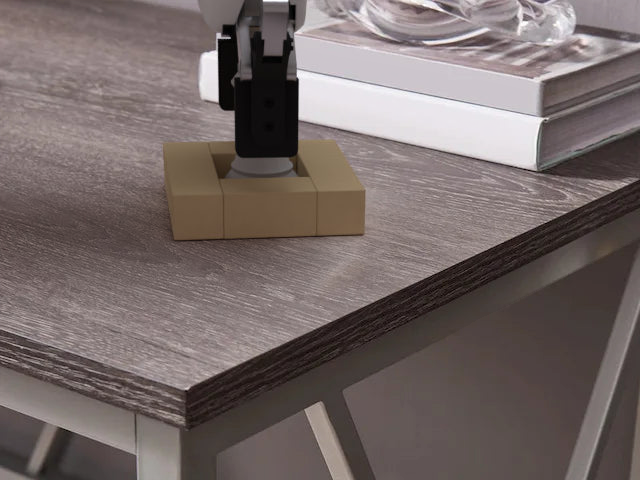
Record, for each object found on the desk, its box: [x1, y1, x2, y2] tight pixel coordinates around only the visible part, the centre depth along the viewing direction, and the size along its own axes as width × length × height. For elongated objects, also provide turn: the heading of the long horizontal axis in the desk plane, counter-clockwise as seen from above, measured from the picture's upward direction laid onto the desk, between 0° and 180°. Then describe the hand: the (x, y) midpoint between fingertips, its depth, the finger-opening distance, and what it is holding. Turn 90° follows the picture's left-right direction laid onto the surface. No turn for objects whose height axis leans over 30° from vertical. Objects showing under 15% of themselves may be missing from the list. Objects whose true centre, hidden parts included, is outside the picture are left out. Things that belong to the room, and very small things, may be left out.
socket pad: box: [162, 138, 366, 241], centre depth 72 cm, size 10×10×2 cm
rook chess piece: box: [225, 63, 298, 179], centre depth 71 cm, size 4×4×8 cm
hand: (256, 131), depth 71 cm, fingers open, 9 cm apart
